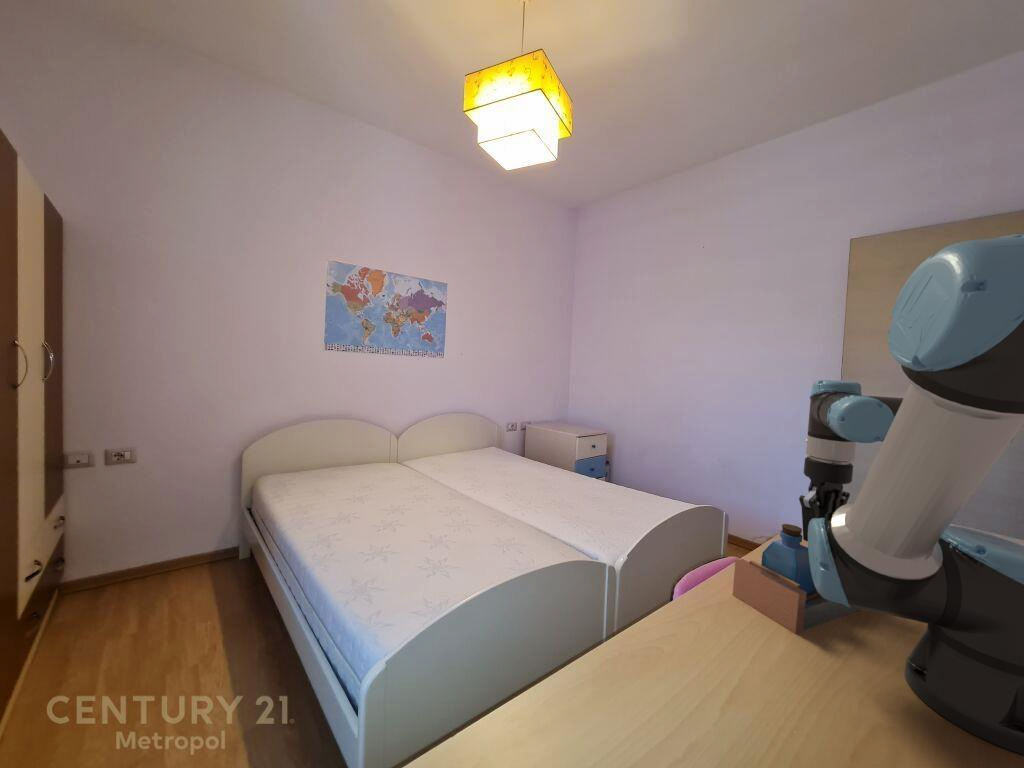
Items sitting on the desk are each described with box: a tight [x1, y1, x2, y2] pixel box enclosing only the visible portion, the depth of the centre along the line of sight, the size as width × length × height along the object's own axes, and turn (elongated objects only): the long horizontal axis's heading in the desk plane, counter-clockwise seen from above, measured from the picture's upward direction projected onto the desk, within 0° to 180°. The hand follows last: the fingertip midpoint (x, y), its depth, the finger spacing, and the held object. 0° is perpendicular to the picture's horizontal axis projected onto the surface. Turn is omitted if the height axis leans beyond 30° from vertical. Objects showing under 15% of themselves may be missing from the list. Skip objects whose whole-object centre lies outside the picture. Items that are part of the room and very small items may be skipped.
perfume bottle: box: [760, 523, 815, 596], centre depth 77 cm, size 6×6×12 cm
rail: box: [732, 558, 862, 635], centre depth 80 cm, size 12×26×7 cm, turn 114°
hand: (817, 575), depth 82 cm, fingers closed
